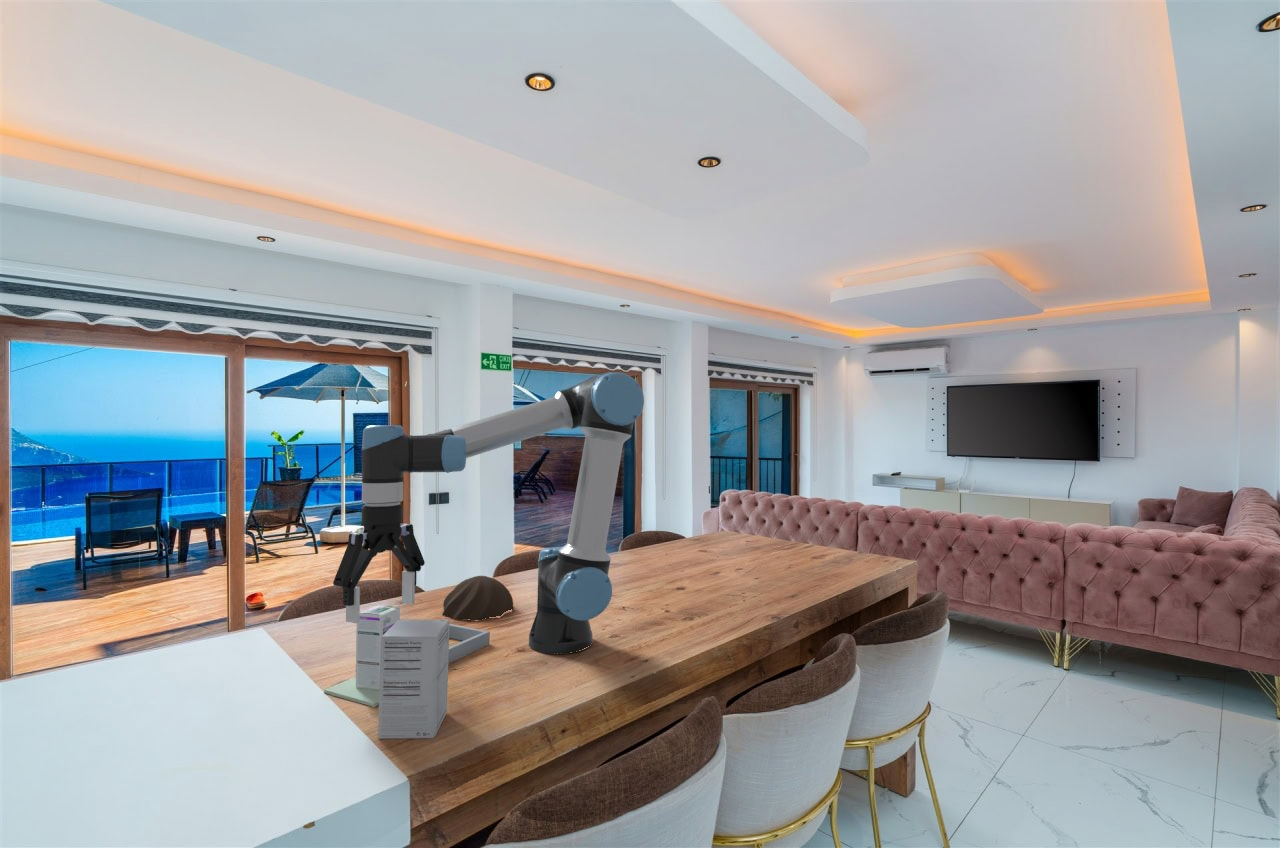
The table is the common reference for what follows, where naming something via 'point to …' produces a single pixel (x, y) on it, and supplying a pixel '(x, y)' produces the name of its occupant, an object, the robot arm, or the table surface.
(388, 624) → the syrup box
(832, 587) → the table surface
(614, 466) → the robot arm
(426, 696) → the supplement box
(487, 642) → the gray rectangular frame
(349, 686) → the mat
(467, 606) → the decorative dome
